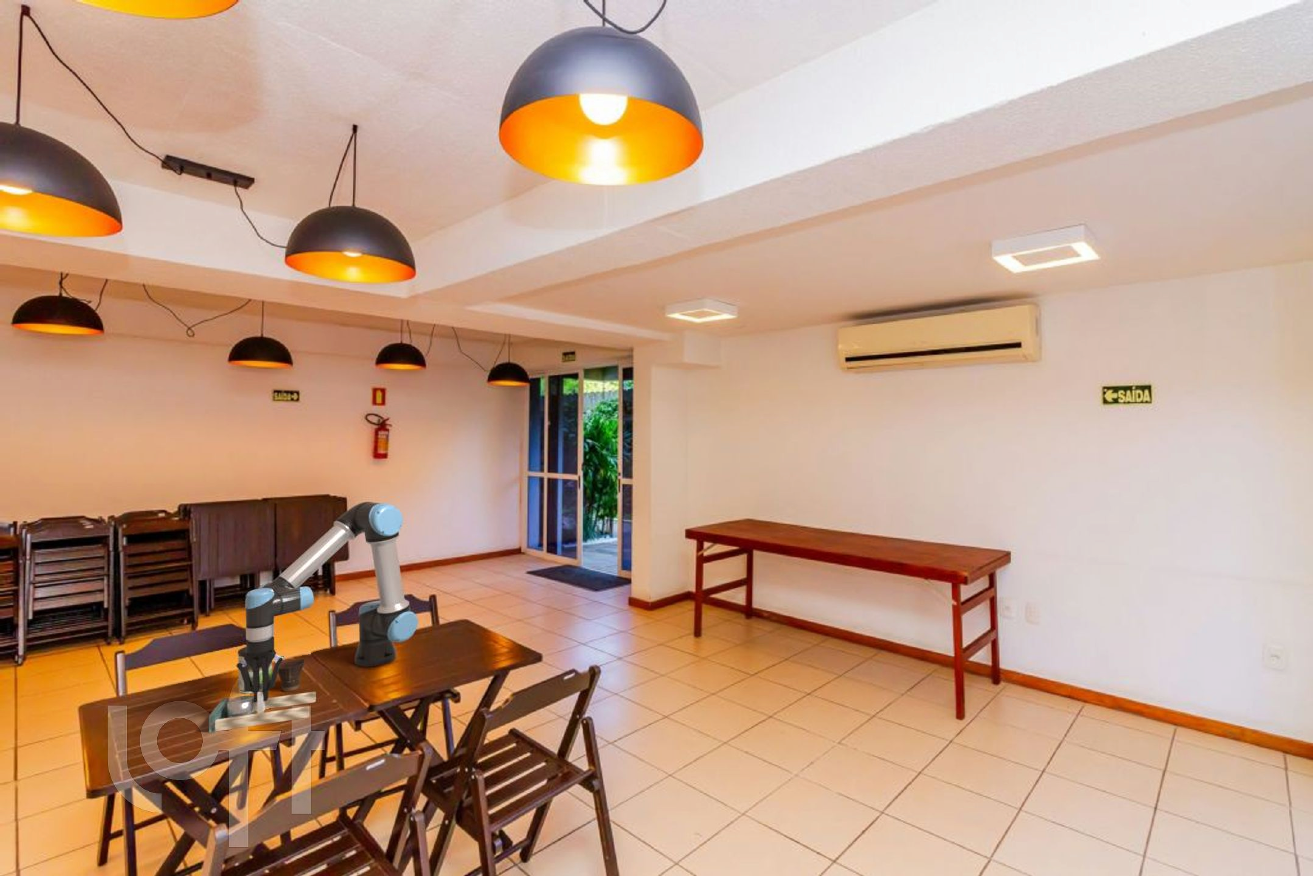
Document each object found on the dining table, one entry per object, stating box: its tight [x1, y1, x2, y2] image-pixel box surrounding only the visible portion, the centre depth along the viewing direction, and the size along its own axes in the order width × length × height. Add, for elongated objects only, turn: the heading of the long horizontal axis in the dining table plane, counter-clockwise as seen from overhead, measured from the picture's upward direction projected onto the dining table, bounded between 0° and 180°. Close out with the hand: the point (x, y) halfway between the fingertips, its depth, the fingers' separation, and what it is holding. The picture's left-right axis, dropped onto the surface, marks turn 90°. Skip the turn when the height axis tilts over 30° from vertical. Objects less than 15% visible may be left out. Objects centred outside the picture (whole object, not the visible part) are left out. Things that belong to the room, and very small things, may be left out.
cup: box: [278, 658, 306, 693], centre depth 212 cm, size 9×9×10 cm
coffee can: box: [237, 646, 273, 695], centre depth 214 cm, size 10×10×14 cm
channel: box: [208, 691, 317, 733], centre depth 193 cm, size 26×13×5 cm, turn 111°
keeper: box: [226, 695, 255, 718], centre depth 190 cm, size 7×7×6 cm
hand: (261, 711), depth 192 cm, fingers closed
